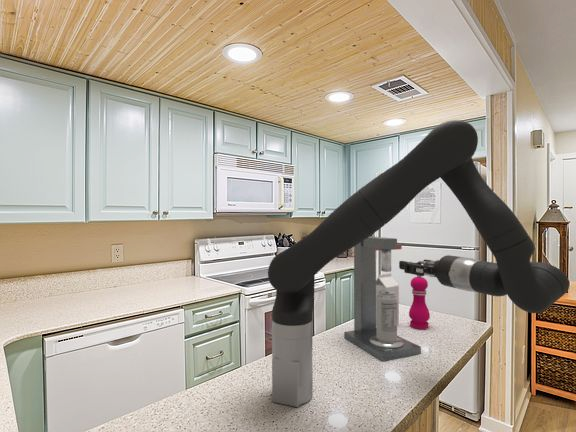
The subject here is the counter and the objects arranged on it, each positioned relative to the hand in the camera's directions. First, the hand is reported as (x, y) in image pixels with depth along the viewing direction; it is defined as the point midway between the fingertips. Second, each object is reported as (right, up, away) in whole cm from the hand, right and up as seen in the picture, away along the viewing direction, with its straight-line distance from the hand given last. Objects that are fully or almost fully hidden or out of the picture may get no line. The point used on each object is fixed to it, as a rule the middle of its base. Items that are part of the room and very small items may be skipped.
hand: (412, 263), depth 94 cm
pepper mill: (+14, -28, +31) cm, 44 cm away
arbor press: (-2, -28, +14) cm, 31 cm away
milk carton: (+2, -28, +34) cm, 44 cm away
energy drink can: (-4, -25, +10) cm, 28 cm away
